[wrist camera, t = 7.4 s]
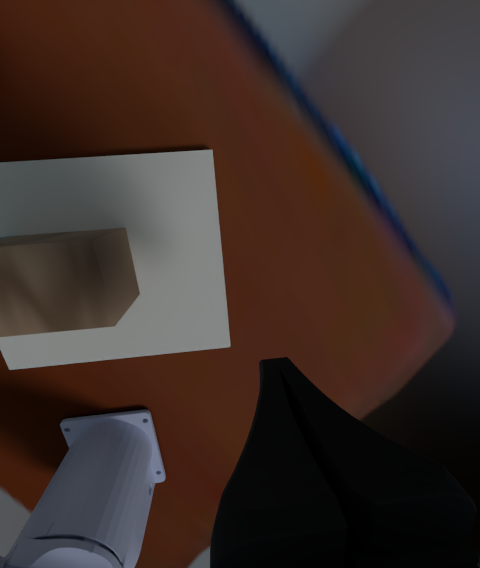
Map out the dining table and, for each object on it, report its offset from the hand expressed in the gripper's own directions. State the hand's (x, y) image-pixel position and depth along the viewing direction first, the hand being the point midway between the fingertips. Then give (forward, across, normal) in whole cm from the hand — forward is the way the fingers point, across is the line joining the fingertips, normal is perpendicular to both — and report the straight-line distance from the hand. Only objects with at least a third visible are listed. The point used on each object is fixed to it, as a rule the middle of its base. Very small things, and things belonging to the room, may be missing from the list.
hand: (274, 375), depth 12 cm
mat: (+9, +11, -4) cm, 15 cm away
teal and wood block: (+6, +8, -4) cm, 11 cm away
